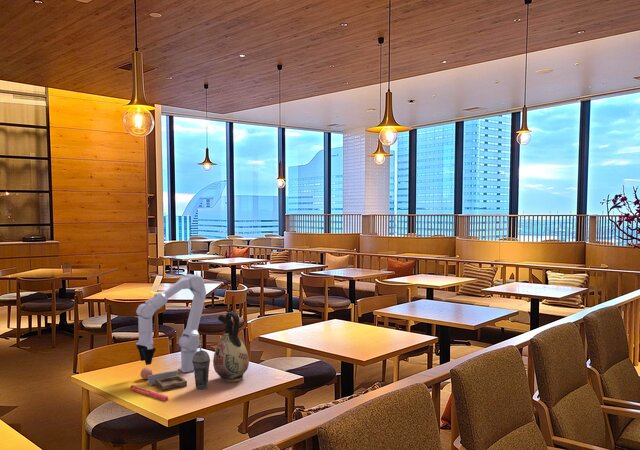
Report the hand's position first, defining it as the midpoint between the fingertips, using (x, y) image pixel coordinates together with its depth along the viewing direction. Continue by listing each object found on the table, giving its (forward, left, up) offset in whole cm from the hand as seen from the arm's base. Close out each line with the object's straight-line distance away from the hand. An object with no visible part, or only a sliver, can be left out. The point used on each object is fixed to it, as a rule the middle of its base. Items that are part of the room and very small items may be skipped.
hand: (146, 362), depth 215 cm
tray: (-6, +15, -7) cm, 18 cm away
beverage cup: (-15, +27, -8) cm, 32 cm away
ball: (0, 0, -7) cm, 7 cm away
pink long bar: (+4, +21, -8) cm, 23 cm away
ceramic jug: (-30, +24, -8) cm, 39 cm away
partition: (-5, +9, -7) cm, 12 cm away
